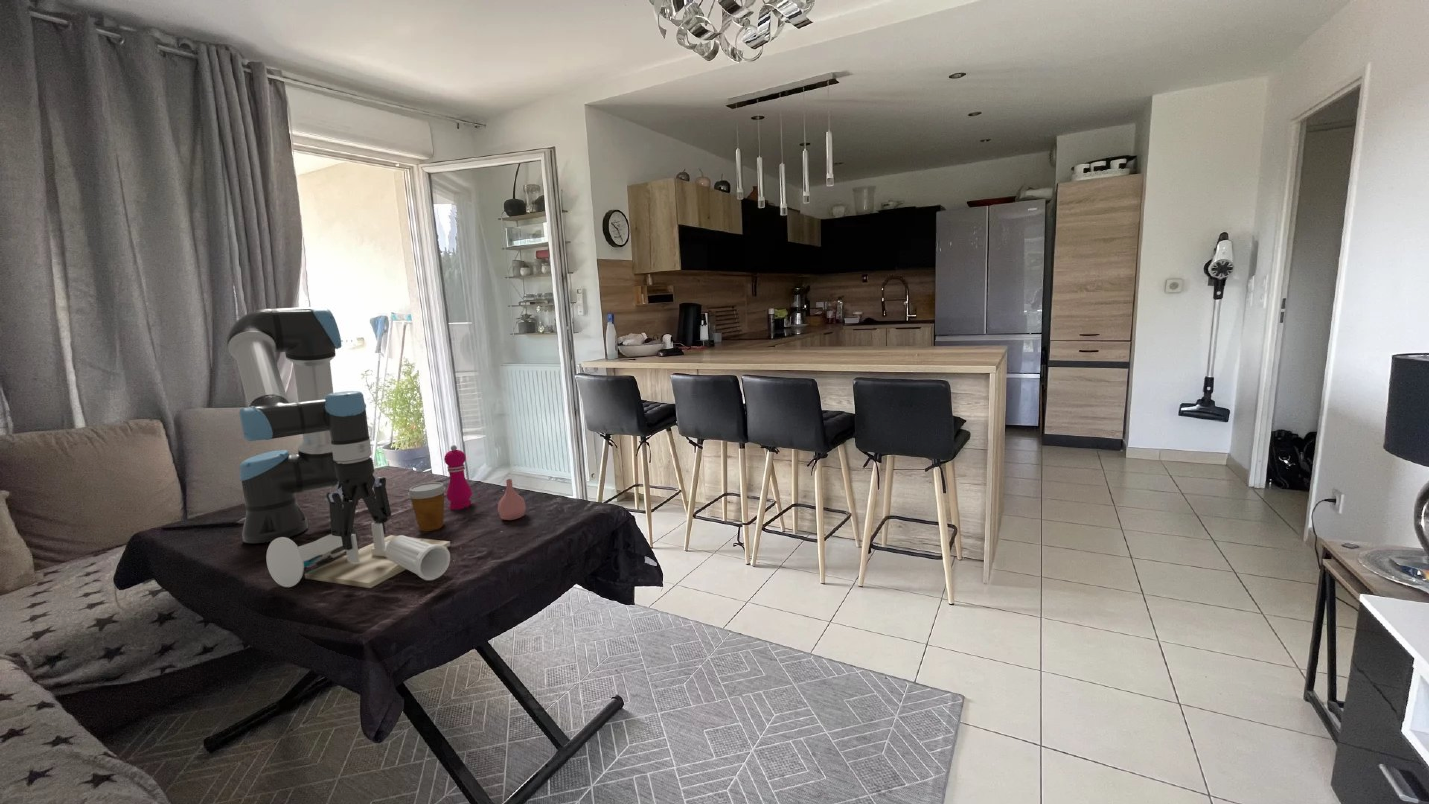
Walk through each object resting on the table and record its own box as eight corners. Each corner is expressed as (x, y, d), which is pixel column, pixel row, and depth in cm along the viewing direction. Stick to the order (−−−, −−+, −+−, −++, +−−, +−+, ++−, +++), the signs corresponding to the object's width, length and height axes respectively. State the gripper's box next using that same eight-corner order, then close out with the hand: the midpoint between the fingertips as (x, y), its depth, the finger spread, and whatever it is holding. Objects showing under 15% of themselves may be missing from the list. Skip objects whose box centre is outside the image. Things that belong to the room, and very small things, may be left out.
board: (305, 578, 137) (304, 573, 137) (391, 539, 160) (390, 535, 159) (370, 588, 131) (369, 583, 131) (450, 545, 153) (449, 541, 153)
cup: (373, 552, 135) (411, 568, 128) (399, 524, 140) (437, 537, 133) (394, 571, 140) (432, 587, 133) (419, 543, 145) (457, 558, 138)
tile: (370, 548, 146) (395, 551, 143) (397, 536, 153) (421, 539, 151) (371, 555, 146) (396, 558, 143) (398, 543, 153) (422, 545, 151)
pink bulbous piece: (532, 518, 171) (528, 478, 169) (507, 526, 165) (503, 485, 163) (517, 513, 176) (514, 474, 174) (494, 521, 170) (489, 481, 169)
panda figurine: (311, 573, 130) (370, 552, 144) (289, 527, 131) (350, 511, 146) (280, 595, 134) (340, 572, 148) (259, 550, 135) (321, 532, 149)
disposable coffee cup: (456, 521, 172) (451, 481, 170) (437, 533, 162) (432, 491, 161) (425, 521, 173) (420, 481, 171) (405, 533, 163) (399, 492, 162)
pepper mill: (443, 511, 181) (435, 448, 178) (457, 503, 188) (449, 442, 185) (464, 511, 180) (457, 448, 177) (477, 504, 187) (471, 442, 184)
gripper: (325, 471, 124) (341, 575, 128) (400, 449, 142) (412, 540, 146) (300, 470, 127) (316, 571, 130) (377, 448, 145) (389, 538, 148)
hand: (367, 555), depth 138 cm, fingers open, 6 cm apart
